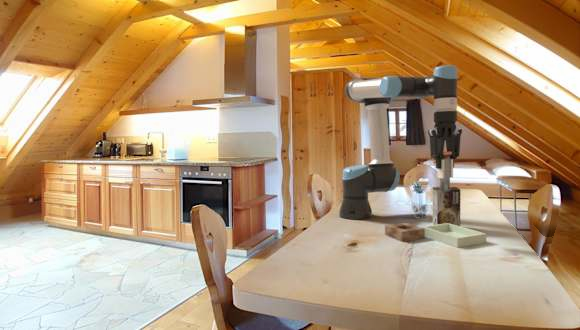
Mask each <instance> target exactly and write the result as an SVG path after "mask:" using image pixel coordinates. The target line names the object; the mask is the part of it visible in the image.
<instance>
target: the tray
mask: <svg viewBox="0 0 580 330" xmlns="http://www.w3.org/2000/svg"><path fill="white" fill-rule="evenodd" d="M420 227H421V228H424V229H425V237H426V238H430V239H432V240H435V241H438V242H440V243H443V244H446V245H449V246H452V247H455V248H462V247H468V246H473V245H479V244H484V243H485V244H486V243H487V233H484V232H481V231H477V230H474V229H471V228H467V227H464V226H461V225H460V226H457V225H453V224H450V223H444V224H437V225H433V224H431V225H425V226H424V225H423V226H420Z"/></svg>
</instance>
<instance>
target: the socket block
mask: <svg viewBox="0 0 580 330" xmlns="http://www.w3.org/2000/svg"><path fill="white" fill-rule="evenodd" d="M421 227H422V226H418V225H414V224H411V223H408V222H403V223H396V224H395V223H394V224H386V225H384V235H385V236H387V237H390V238H391V239H395V240H396V241H399V242H402V243H403V242H410V241H416V240H421V239H425V237H426V236H425V229H424V228H421Z"/></svg>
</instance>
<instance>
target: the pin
mask: <svg viewBox="0 0 580 330" xmlns="http://www.w3.org/2000/svg"><path fill="white" fill-rule="evenodd" d="M450 155H452V151H447V150H446V151H443V158H442V160H444V178H439V187H440V191H444V192H448V191H450V187H451V178H450Z"/></svg>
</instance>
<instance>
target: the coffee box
mask: <svg viewBox="0 0 580 330" xmlns="http://www.w3.org/2000/svg"><path fill="white" fill-rule="evenodd" d="M444 223H450V224H453V225H457V226H461V189H460V188H458V187H456V186H450V191H448V192H444V191H440V186H436V187H435V186H433V187H432V225H437V224H444Z"/></svg>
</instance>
